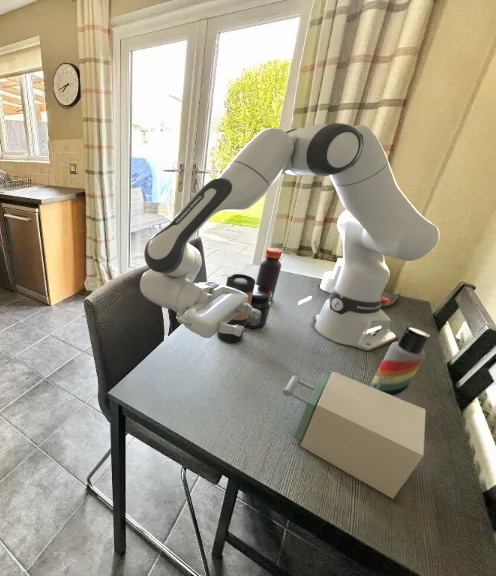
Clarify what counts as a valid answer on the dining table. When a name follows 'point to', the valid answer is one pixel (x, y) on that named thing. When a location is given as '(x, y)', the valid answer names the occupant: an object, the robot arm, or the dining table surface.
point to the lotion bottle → (401, 363)
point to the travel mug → (246, 286)
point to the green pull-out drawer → (310, 403)
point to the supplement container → (259, 307)
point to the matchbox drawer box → (367, 433)
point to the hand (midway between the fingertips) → (251, 323)
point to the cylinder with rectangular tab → (331, 277)
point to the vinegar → (269, 270)
